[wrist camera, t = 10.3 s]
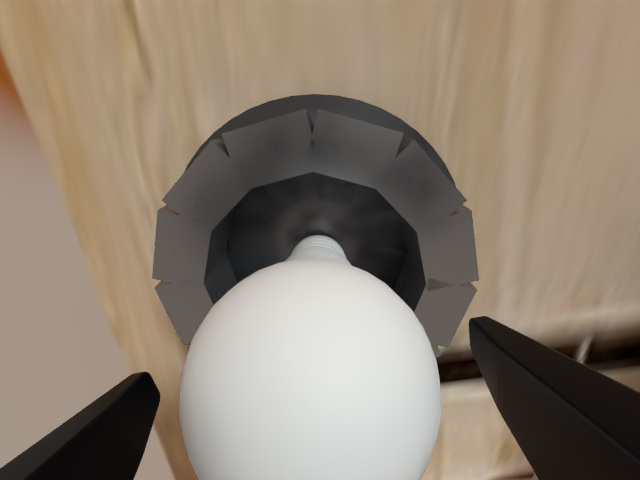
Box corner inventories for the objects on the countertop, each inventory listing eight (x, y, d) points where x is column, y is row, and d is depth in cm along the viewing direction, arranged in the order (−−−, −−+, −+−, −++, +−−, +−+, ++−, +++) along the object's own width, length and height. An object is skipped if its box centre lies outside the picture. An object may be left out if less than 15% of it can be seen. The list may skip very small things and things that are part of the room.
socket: (470, 327, 18) (507, 383, 14) (237, 375, 20) (216, 436, 16) (435, 53, 13) (478, 28, 9) (129, 145, 15) (63, 156, 11)
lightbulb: (309, 162, 14) (261, 292, 4) (409, 246, 15) (578, 514, 5) (230, 260, 16) (49, 532, 5) (326, 328, 17) (325, 649, 7)
